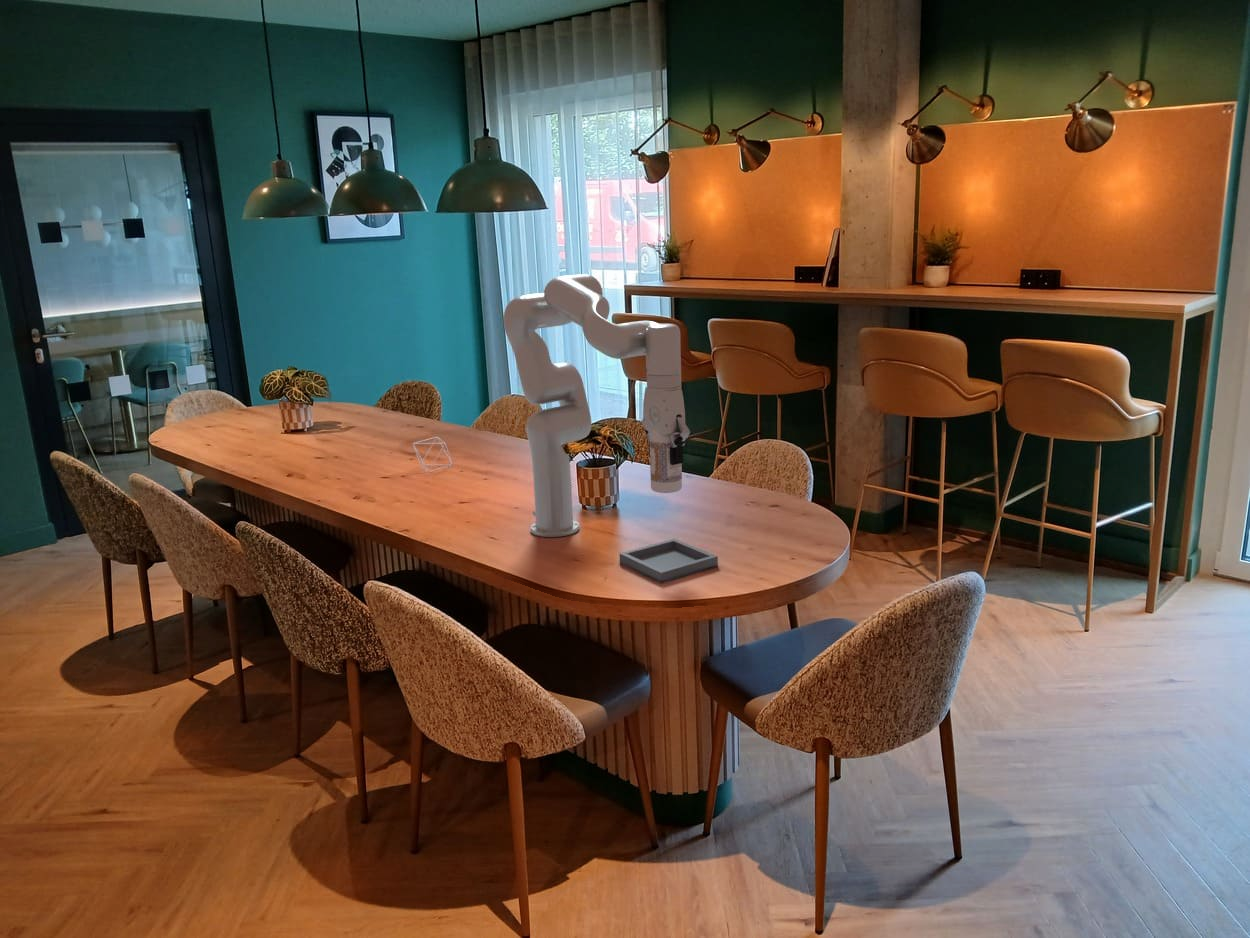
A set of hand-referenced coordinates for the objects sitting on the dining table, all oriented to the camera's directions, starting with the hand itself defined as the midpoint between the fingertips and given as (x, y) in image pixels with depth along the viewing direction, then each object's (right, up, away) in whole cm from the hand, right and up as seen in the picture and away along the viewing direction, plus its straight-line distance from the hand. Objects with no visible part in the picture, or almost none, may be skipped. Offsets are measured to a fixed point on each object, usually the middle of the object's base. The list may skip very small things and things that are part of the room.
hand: (665, 460), depth 212 cm
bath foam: (0, -7, +2) cm, 7 cm away
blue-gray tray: (+1, -24, +6) cm, 25 cm away
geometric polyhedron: (-72, -2, +101) cm, 124 cm away
